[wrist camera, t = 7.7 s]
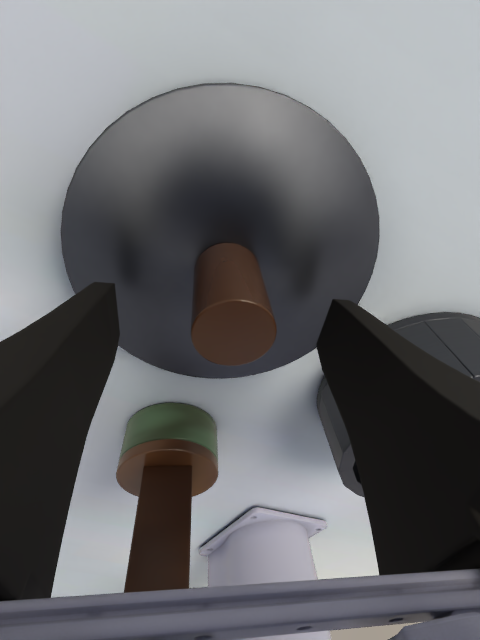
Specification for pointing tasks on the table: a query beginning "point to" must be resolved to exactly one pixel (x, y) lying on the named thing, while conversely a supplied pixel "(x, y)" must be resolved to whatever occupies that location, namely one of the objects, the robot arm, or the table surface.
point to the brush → (165, 489)
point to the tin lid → (221, 227)
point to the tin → (429, 335)
